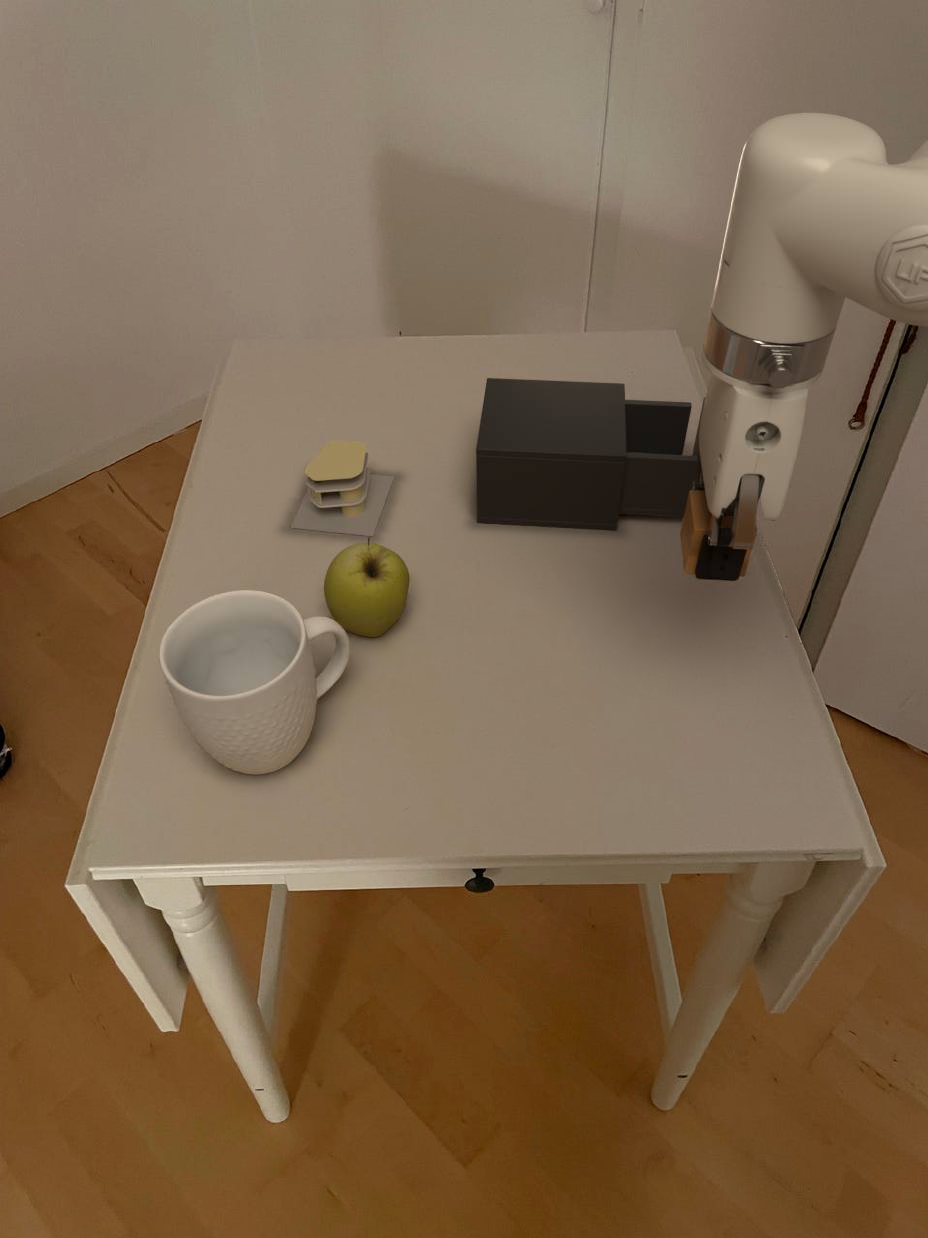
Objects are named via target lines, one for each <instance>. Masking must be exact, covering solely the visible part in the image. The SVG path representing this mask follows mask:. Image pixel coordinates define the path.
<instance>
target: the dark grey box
mask: <svg viewBox="0 0 928 1238" xmlns="http://www.w3.org/2000/svg"><path fill="white" fill-rule="evenodd" d="M625 386H626V384H625V383H623V382H622V383H621V382H620V383H619V382H596V381H594V382H593V381H573V380H572V381H570V380H549V379H548V380H547V379H545V380H544V379H524V378H520V379H519V378H500V377H499V378H497V377H487V378H486V382H485V389H484V395H483V402H482V408H481V415H480V422H479V427H478V435H477V441H476V448H475V455H476V456H475V469H476V472H475V473H476V475H475V476H476V477H475V480H476V481H475V482H476V523H477V524H486V525H487V524H488V525H489V524H490V525H491V524H492V525H507V526H527V527H543V528H544V527H546V528H563V529H581V530H582V529H583V530H597V531H598V530H599V531H600V530H601V531H617V530H618V523H619V508H620V501H621V494H622V487H623V479H624V472H625V465H626V458H627V449H626V416H625V400H626V387H625Z"/></svg>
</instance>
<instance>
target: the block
mask: <svg viewBox="0 0 928 1238" xmlns="http://www.w3.org/2000/svg"><path fill="white" fill-rule="evenodd" d="M732 502H735V499H734V500H733V501H732ZM711 516H712V513H711V512H710V511H709V509H708V505H707V499H706V493H705V491H699V490H695V489H692V490H690V491H689V495H688V499H687V504H686V509H685V513H684V517H682V523H681V528H680V533H679V538H680V547H681V555H682V565H683V573H684V574H685V575H695V568H696V564H697V560H698V556H699V551H700V547H701V543H702V539H703V535H708V534H709V528H710V522H711ZM733 519H734V516H723V517H722V523H721V528H724V527H728V528H732V526H733ZM757 537H758V527H757V522H756V523H755V533H754V543H753V548H752V549H747V552H746V555H745V559H744V562H743V566H742V569H741V572H740V576H739V578H740V577H741V578H744V577H746V574H747V570H748V567H749V562H750V560H751V557H752V553H753V549H754V548H755V547H754V546H755V543H756V539H757Z"/></svg>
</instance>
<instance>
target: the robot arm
mask: <svg viewBox="0 0 928 1238" xmlns="http://www.w3.org/2000/svg"><path fill="white" fill-rule="evenodd" d="M887 158H888V157H887V150H886V145H885V143H884V140H883V139H882V137H881V136H880V134H879V133H877V131H875V130H874V129H873V128H872V127H870V126H869V125H867V124H865V123H863V122H860V121H858V120H856V119H852V118H850V117H846V116H841V115H839V114H838V115H837V114H834V113H833V114H832V113H826V112H824V113H823V112H795V113H788V114H783V115H779V116H776V117H771V118H770V119H768V120H767V121H765V122H763V123H762V124H760V125H758V127H756V128H755V129H754V130H753V132H751V134H750V135H749V137H748V139H747V141H746V142H745V143H744V146H743V148H742V152H741V156H740V161H739V164H738V168H737V173H736V177H735V183H734V189H733V193H732V198H731V204H730V209H729V214H728V219H727V224H726V229H725V234H724V238H723V244H722V248H721V255H720V260H719V266H718V269H717V275H716V281H715V285H714V291H713V296H712V300H711V305H710V310H709V314H708V320H707V324H706V331H705V335H704V340H703V345H702V349H701V360H702V363H703V364H704V366H705V368H706V369H707V370H708V371H709V372H710V376H709V380H708V383H707V384H708V385H707V388H706V392H705V396H704V397H705V402H704V406H703V411H702V417H701V423H700V431H699V449H700V458H701V466H702V471H701V474H700V486H704V487H705V488H697V490H699V491H705V493H706V499H707V505H708V509H709V511H710V512H711V513H712V516H711V522H710V528H709V534H708V535H703V539H702V543H701V547H700V551H699V556H698V560H697V564H696V568H695V574H694V575H695V576H694V577H695V578H696V579H697V580H703V581H704V580H707V581H723V582H725V581H726V582H734V581H738V580H739V579H740V577H739V576H740V572H741V569H742V566H743V562H744V559H745V555H746V552H747V549H752V548H753V549H754V547H753V543H754V533H755V523H756V524H757V511H758V504H759V502H760V506H761V510H762V515H763V519H764V521H772V522H775V521H778V519H779V518H781V516H782V514H783V512H784V509H785V505H786V501H787V497H788V494H789V489H790V485H791V481H792V478H793V474H794V470H795V466H796V462H797V458H798V453H799V449H800V445H801V440H802V436H803V430H804V426H805V419H806V413H807V408H808V399H809V387H810V386H811V385H813V384H814V383H816V382H817V381H818V380H819V379H820V377H821V376H822V374H823V372H824V369H825V365H826V362H827V358H828V355H829V351H830V348H831V346H832V343H833V339H834V336H835V333H836V329H837V326H838V322H839V320H840V316H841V313H842V309H843V306H844V303H845V300H846V298H847V299H848V300H850V301H852V302H854V303H855V304H858V305H859V306H862V307H863V308H865V309H867V310H870V311H872V312H874V313H876V314H878V315H880V316H883V317H885V318H887V319H890V320H893V321H895V322H898V323H902V324H906V325H911V326H918V327H919V326H920V327H928V139H927V140H925V141H924V143H922V144H921V145H920V146H919V148H917V150H916V151H915V152H914V153H913V154H912V155H911V156H910V158H909V159H908V160H907V161H905V162H902V163H897V164H896V163H895V164H890V163H888V159H887ZM734 499H735V502H732V501H733V500H734ZM723 516H734V519H733V526H732V528H728V527H724V528H721V523H722V517H723ZM754 544H755V543H754Z"/></svg>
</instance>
